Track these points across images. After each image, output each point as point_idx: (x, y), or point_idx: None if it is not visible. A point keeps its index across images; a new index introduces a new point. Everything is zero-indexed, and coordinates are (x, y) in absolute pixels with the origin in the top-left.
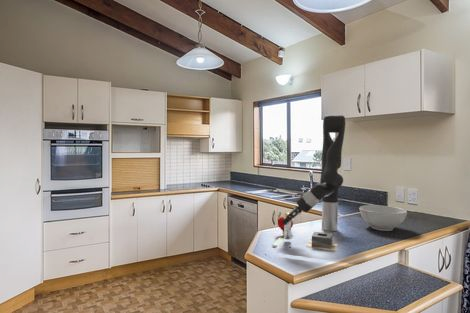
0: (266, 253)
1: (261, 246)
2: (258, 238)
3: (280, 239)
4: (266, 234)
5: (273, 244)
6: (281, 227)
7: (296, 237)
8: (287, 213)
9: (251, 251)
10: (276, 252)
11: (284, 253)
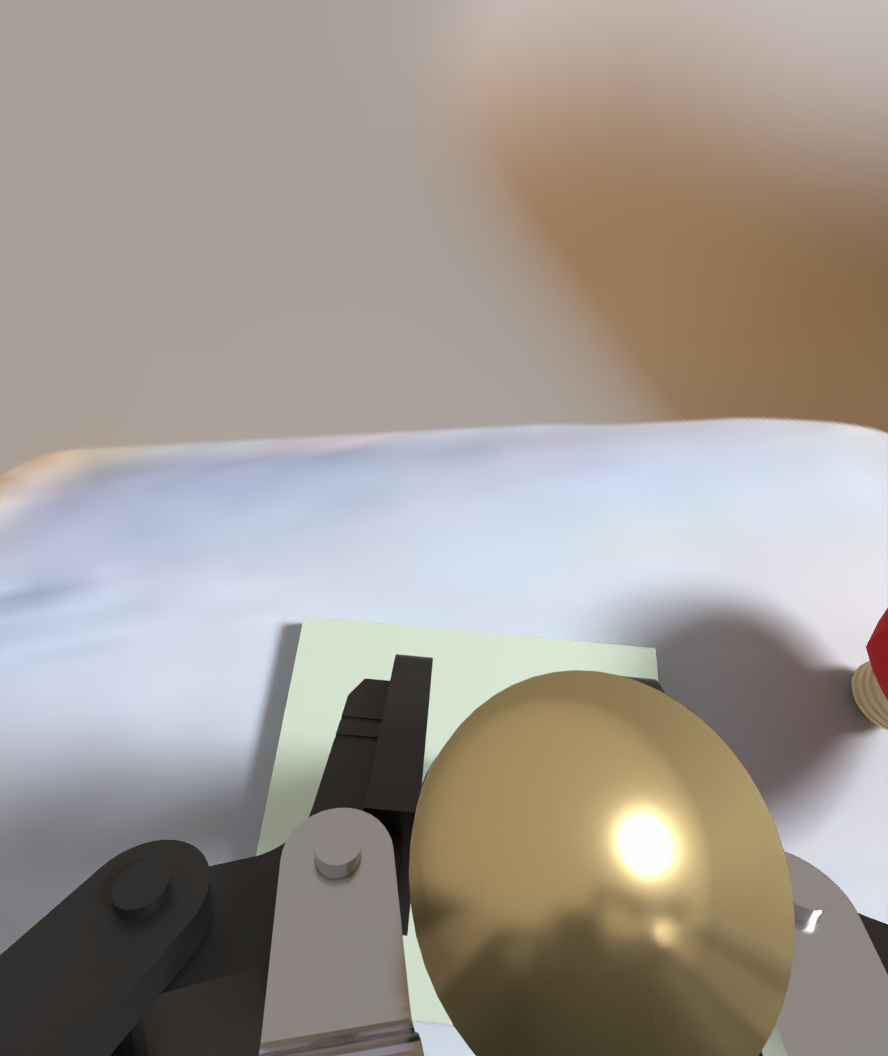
0: (63, 599)
1: (300, 507)
2: (569, 431)
3: None
4: (762, 478)
5: (328, 624)
6: (880, 627)
7: (881, 895)
8: (517, 850)
9: (117, 450)
10: (108, 705)
11: (76, 818)
